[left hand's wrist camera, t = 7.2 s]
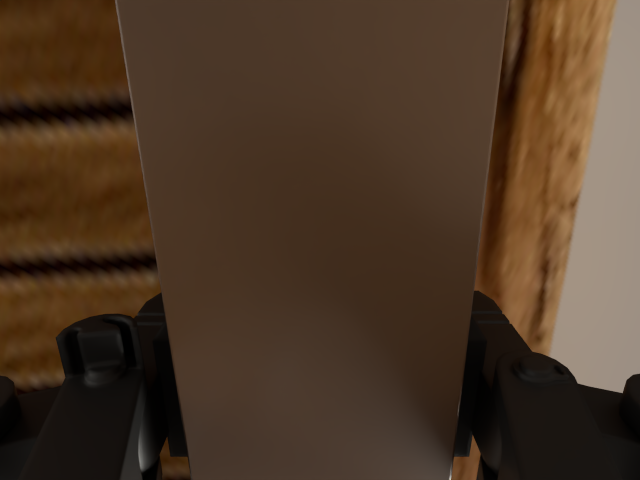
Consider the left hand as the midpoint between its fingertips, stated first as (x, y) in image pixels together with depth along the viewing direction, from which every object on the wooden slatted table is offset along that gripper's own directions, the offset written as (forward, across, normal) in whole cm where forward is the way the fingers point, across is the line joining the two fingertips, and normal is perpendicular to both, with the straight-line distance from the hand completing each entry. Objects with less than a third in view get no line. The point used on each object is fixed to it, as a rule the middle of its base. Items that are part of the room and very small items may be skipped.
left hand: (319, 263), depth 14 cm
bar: (+1, 0, -27) cm, 27 cm away
